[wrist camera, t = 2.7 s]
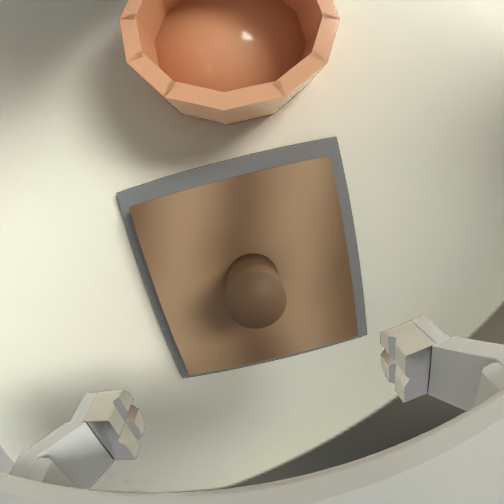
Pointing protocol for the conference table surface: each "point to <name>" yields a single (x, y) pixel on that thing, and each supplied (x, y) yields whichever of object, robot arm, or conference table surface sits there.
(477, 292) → the conference table surface
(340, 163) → the mat
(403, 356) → the robot arm
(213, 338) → the lid
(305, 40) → the bowl
